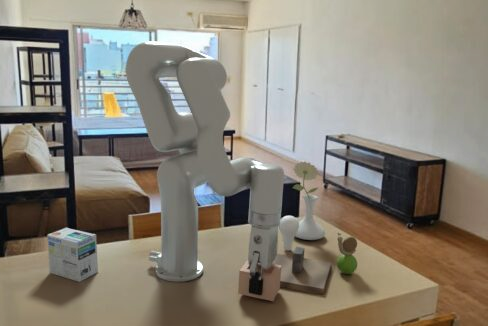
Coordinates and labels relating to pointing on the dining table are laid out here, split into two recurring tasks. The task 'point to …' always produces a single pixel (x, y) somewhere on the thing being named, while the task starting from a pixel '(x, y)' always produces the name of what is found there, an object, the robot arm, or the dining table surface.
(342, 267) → the snail figurine
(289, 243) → the lightbulb
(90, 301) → the dining table surface
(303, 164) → the flower in vase
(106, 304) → the dining table surface
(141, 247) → the dining table surface
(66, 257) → the light bulb box
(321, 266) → the hub plate
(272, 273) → the tan rectangular frame
